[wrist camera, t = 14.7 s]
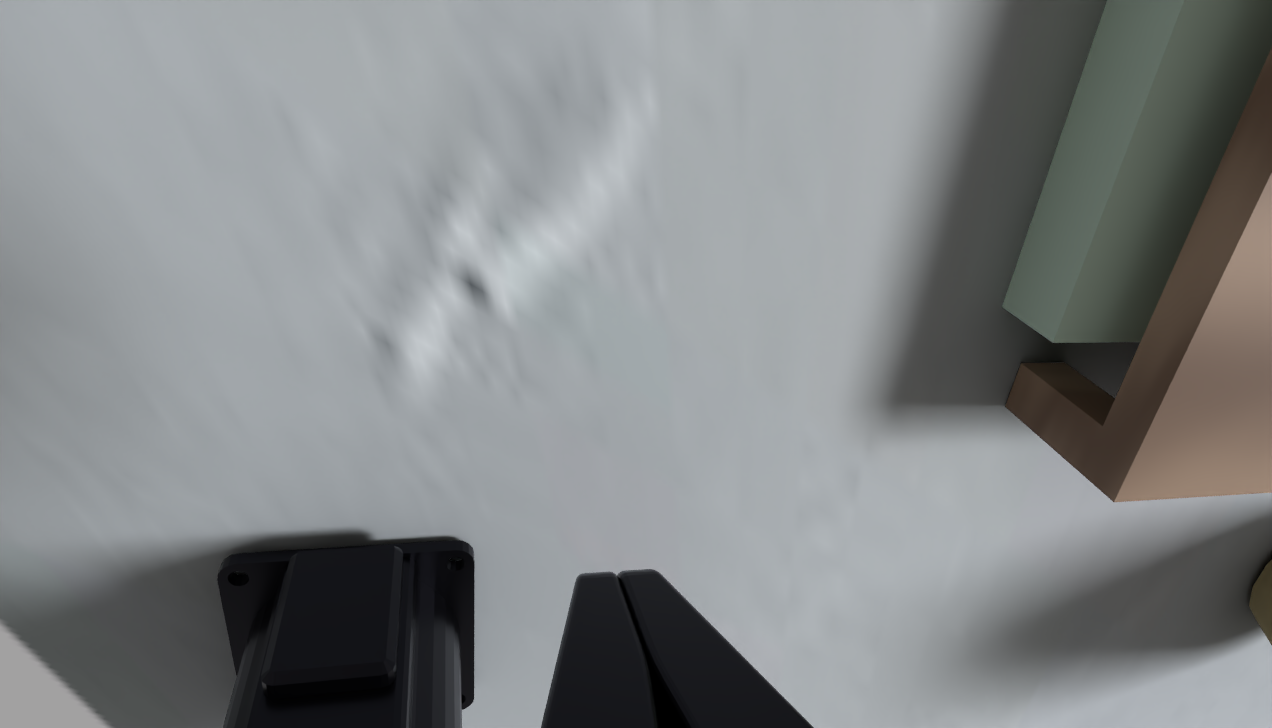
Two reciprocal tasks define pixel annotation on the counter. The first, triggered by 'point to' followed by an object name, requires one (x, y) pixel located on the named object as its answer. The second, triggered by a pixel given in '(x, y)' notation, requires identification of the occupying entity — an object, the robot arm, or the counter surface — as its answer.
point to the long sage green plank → (1135, 163)
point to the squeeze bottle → (1263, 601)
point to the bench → (1185, 354)
